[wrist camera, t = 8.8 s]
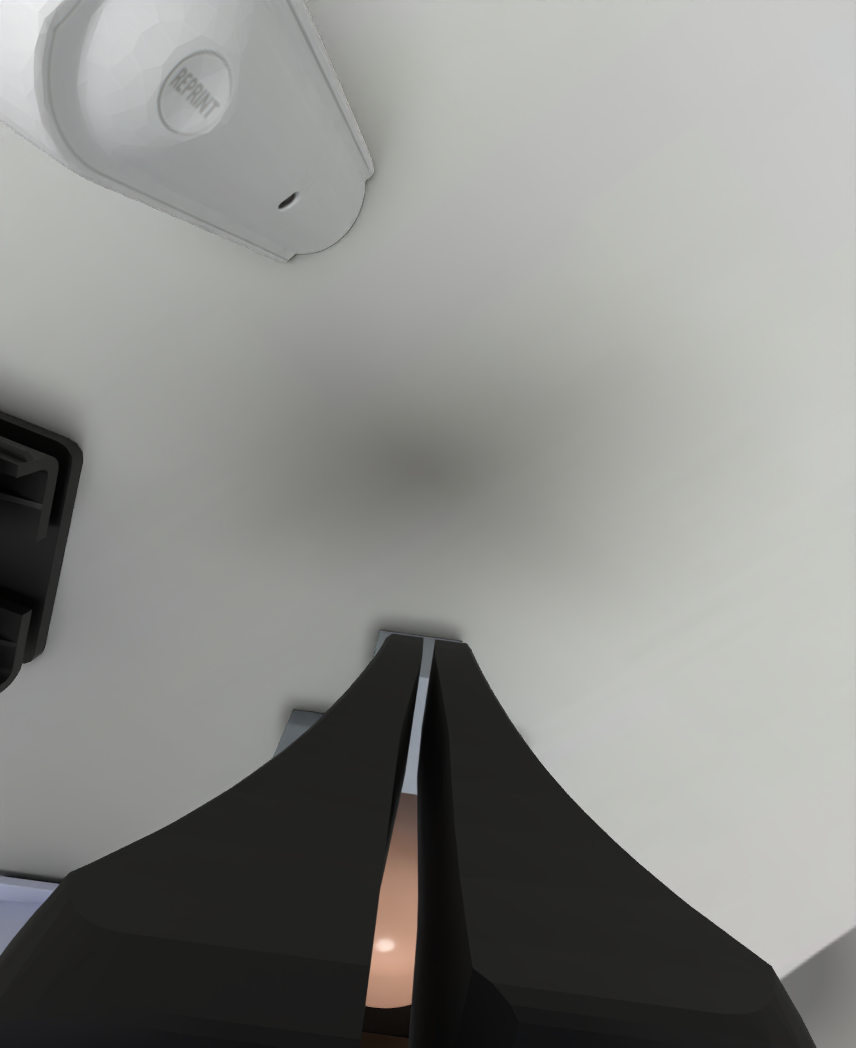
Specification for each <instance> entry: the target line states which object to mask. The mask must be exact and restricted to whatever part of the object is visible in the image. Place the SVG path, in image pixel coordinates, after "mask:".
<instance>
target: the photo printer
mask: <svg viewBox="0 0 856 1048" xmlns="http://www.w3.org/2000/svg"><path fill="white" fill-rule="evenodd" d="M0 121H2V122H3V123H4V124H6V125H7V126H8V127H10V128H11V129H12V130H13V131H15V132H16V133H17V134H19V135H20V136H22V137H23V138H24V139H26V140H27V141H29V142H30V143H32V144H33V145H35V146H36V147H37V148H39V149H40V150H42V151H43V152H45V153H46V154H48V155H49V156H50V157H52V158H53V159H55V160H56V161H58V162H59V163H61V164H62V165H64V166H65V167H67V168H68V169H70V170H71V171H73V172H74V173H76V174H78V175H80V176H82V177H83V178H85V179H87V180H89V181H92V182H94V183H96V184H98V185H100V186H103V187H105V188H107V189H110V190H113V191H115V192H118V193H120V194H122V195H124V196H126V197H129V198H131V199H134V200H137V201H139V202H141V203H144V204H146V205H148V206H150V207H153V208H155V209H157V210H160V211H162V212H164V213H167V214H169V215H171V216H174V217H176V218H178V219H181V220H183V221H186V222H188V223H191V224H193V225H196V226H198V227H200V228H202V229H205V230H207V231H209V232H211V233H214V234H216V235H218V236H221V237H223V238H225V239H228V240H230V241H232V242H234V243H237V244H239V245H242V246H244V247H246V248H249V249H251V250H253V251H256V252H258V253H260V254H262V255H264V256H267V257H269V258H271V259H273V260H275V261H278V262H283V263H284V262H287V261H288V260H289V259H290V258H291V257H292V256H294V255H295V254H309V253H315V252H318V251H321V250H324V249H326V248H328V247H329V246H331V245H333V244H335V243H336V242H337V241H338V240H339V239H341V238H342V237H343V236H344V235H345V233H346V232H347V231H348V230H349V229H350V228H351V226H352V225H353V223H354V222H355V220H356V218H357V216H358V214H359V211H360V209H361V206H362V202H363V199H364V195H365V182H366V180H367V179H369V178H370V177H371V176H372V175H373V173H374V166H373V161H372V158H371V155H370V153H369V151H368V148H367V146H366V143H365V140H364V138H363V136H362V133H361V131H360V129H359V126H358V124H357V122H356V119H355V117H354V115H353V113H352V110H351V108H350V105H349V103H348V101H347V98H346V96H345V93H344V91H343V89H342V86H341V84H340V82H339V79H338V77H337V75H336V72H335V70H334V68H333V65H332V63H331V61H330V58H329V56H328V54H327V51H326V49H325V46H324V44H323V42H322V40H321V37H320V35H319V33H318V31H317V28H316V26H315V24H314V21H313V19H312V17H311V15H310V12H309V10H308V8H307V6H306V3H305V1H304V0H0Z"/></svg>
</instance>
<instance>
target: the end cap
mask: <svg viewBox="0 0 856 1048" xmlns="http://www.w3.org/2000/svg"><path fill="white" fill-rule="evenodd" d="M82 462H83V458H82V451H81V450H80V448H79V447H78V445H77V444H76V443H75V442H73V441H72V440H70V439H69V438H66V437H64V436H61V435H59V434H57V433H54V432H52V431H49V430H47V429H44V428H42V427H39V426H37V425H34V424H32V423H29V422H27V421H24V420H22V419H19V418H17V417H14V416H12V415H9V414H7V413H4V412H2V411H0V693H1V692H2V691H3V690H5V689H6V688H7V687H8V686H9V685H10V684H11V683H12V682H13V680H14V679H15V678H16V676H17V675H18V673H19V671H20V668H21V665H22V663H24V664H25V663H28V662H31V661H32V660H34V659H35V658H36V657H37V656H39V655H40V654H41V653H42V651H43V650H44V648H45V643H46V638H47V633H48V629H49V624H50V619H51V614H52V609H53V604H54V599H55V594H56V589H57V584H58V580H59V575H60V570H61V565H62V560H63V555H64V550H65V545H66V540H67V535H68V531H69V526H70V521H71V516H72V511H73V506H74V501H75V496H76V491H77V486H78V482H79V477H80V472H81V467H82Z"/></svg>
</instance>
